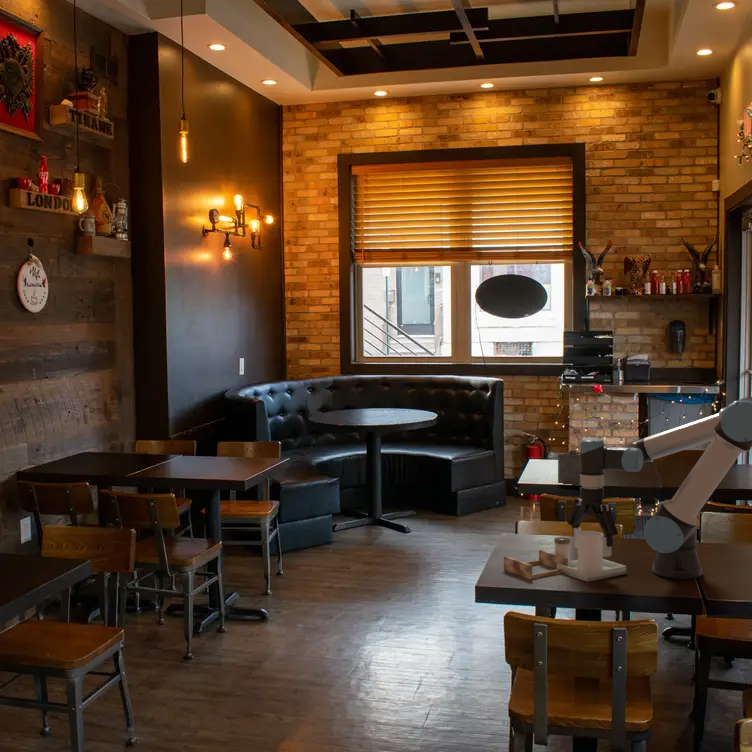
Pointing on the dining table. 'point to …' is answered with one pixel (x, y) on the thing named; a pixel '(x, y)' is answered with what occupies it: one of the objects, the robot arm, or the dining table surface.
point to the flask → (569, 468)
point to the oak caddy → (526, 567)
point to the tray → (608, 571)
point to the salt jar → (562, 547)
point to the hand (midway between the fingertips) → (592, 551)
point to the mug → (590, 551)
